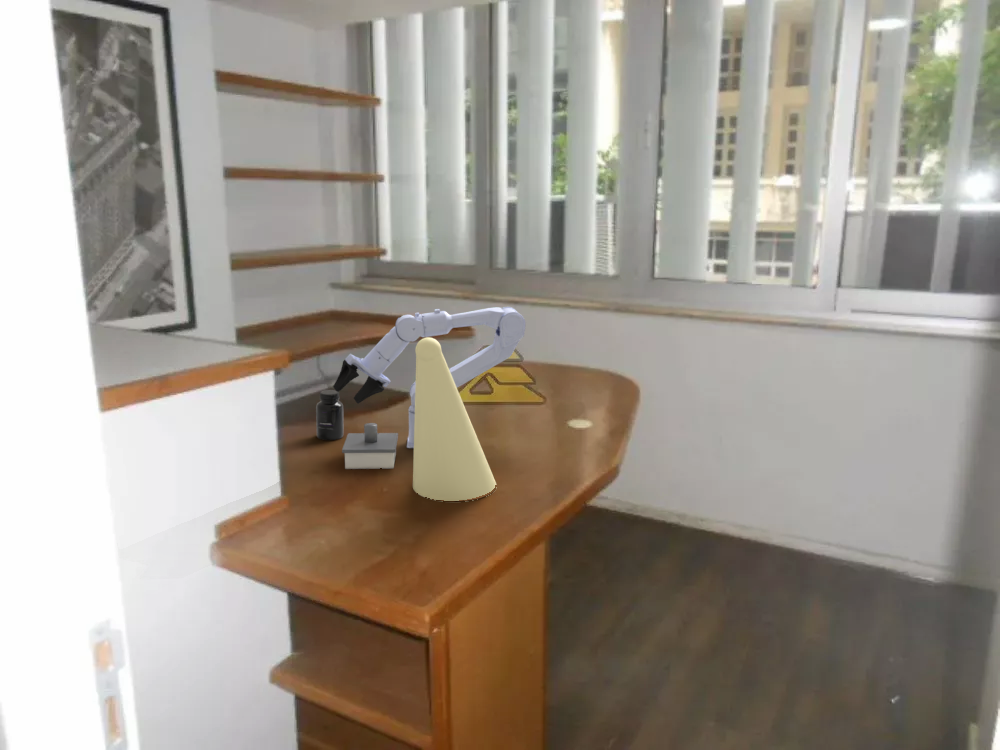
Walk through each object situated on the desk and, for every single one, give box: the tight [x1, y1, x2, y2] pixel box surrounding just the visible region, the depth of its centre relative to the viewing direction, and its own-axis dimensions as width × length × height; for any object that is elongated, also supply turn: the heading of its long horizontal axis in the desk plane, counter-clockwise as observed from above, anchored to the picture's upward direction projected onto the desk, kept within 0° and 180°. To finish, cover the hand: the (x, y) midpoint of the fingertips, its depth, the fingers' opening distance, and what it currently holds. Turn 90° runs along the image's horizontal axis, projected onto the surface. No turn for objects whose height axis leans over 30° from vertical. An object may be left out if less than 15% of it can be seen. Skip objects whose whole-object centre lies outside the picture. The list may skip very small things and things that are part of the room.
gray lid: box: [341, 422, 399, 454], centre depth 177 cm, size 12×12×5 cm
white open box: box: [344, 451, 397, 470], centre depth 178 cm, size 11×11×4 cm
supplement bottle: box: [315, 389, 345, 441], centre depth 194 cm, size 7×7×12 cm
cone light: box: [412, 336, 497, 501], centre depth 157 cm, size 25×18×35 cm
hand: (345, 395), depth 185 cm, fingers open, 7 cm apart
